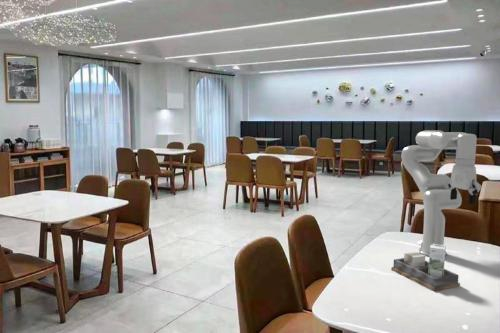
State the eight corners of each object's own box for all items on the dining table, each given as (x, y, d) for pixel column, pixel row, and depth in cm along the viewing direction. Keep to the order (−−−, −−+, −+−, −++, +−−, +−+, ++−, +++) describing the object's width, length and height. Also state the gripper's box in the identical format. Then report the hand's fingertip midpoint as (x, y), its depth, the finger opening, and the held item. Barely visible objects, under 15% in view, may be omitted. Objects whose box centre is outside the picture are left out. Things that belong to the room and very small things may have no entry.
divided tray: (391, 269, 195) (392, 251, 194) (415, 265, 200) (416, 248, 199) (433, 291, 173) (434, 271, 171) (459, 286, 178) (461, 266, 177)
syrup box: (443, 278, 182) (445, 244, 180) (443, 284, 177) (445, 248, 175) (428, 276, 184) (430, 242, 182) (427, 281, 179) (429, 246, 177)
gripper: (442, 160, 198) (440, 198, 200) (475, 165, 182) (472, 206, 184) (455, 159, 200) (453, 197, 203) (488, 164, 184) (485, 204, 187)
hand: (462, 201), depth 193 cm, fingers open, 9 cm apart
